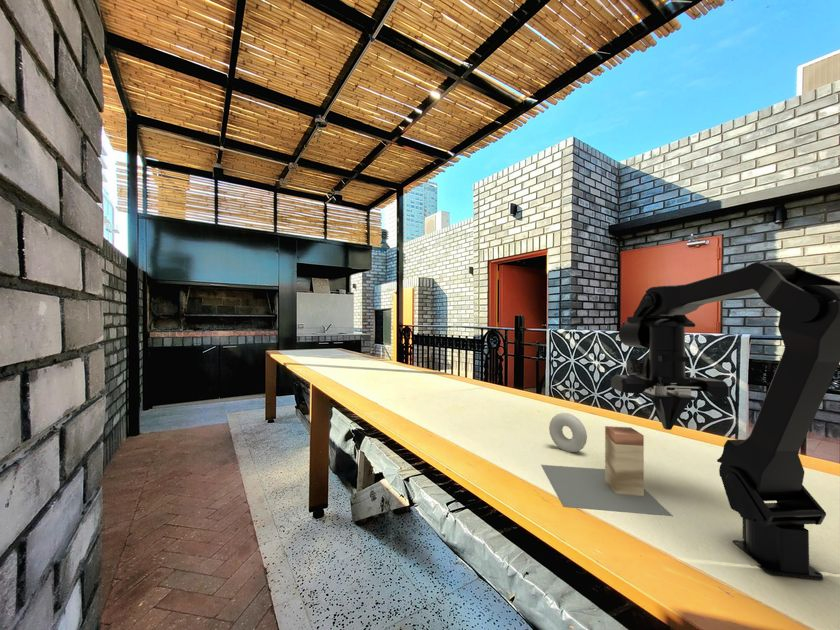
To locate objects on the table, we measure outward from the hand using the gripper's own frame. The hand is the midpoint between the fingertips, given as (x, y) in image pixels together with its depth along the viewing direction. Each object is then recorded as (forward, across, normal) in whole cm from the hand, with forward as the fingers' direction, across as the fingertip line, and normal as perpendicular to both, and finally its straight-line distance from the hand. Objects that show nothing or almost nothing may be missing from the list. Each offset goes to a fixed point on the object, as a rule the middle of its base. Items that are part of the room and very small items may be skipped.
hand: (667, 429), depth 66 cm
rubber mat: (+13, +13, 0) cm, 18 cm away
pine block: (+12, +8, 0) cm, 15 cm away
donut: (+13, +13, -20) cm, 27 cm away
